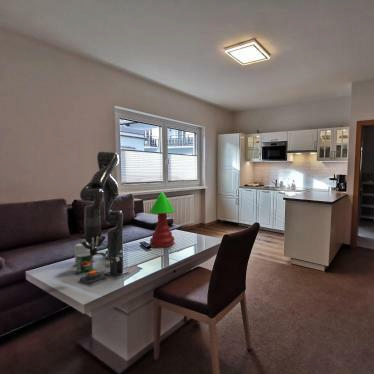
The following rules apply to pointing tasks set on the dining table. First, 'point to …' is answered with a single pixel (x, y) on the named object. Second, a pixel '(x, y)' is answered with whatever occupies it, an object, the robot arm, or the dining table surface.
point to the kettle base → (116, 267)
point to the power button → (92, 272)
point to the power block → (92, 278)
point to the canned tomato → (84, 262)
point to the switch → (109, 263)
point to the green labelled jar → (81, 251)
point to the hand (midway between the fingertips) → (93, 255)
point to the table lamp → (162, 223)
